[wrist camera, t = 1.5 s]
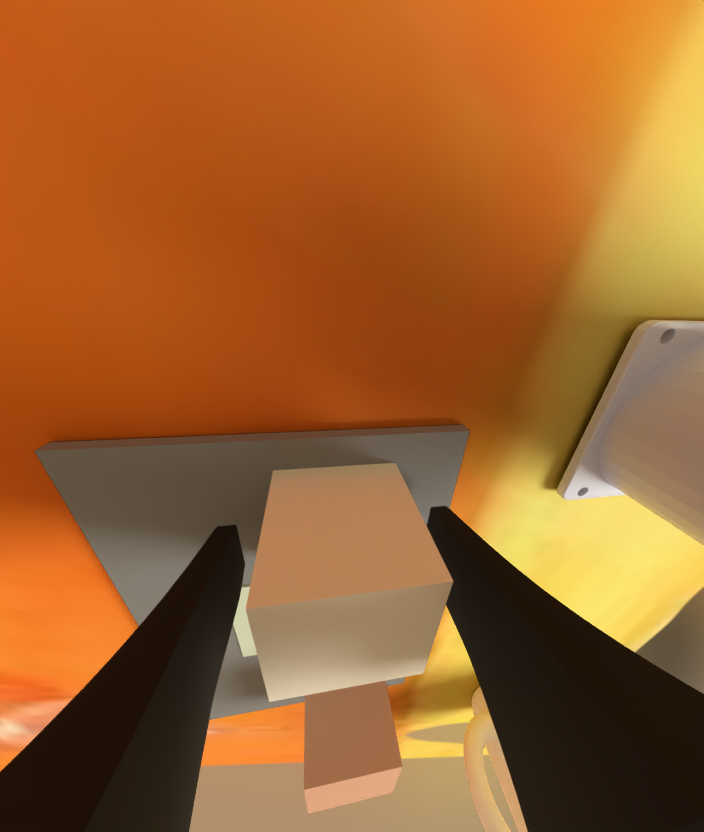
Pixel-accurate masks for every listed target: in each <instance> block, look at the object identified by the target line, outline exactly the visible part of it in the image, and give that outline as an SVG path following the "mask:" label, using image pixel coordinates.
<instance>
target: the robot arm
mask: <svg viewBox="0 0 704 832" xmlns="http://www.w3.org/2000/svg"><path fill="white" fill-rule="evenodd" d="M557 493H558V494H559V495H560V496H561V497H562V498H563V499H565V500H574V499H585V498H595V497H606V496H617V495H628V496H629V497H631V498H632V499H634V500H635V501H637V502H638V503H640V504H641V505H643V506H644V507H646V508H647V509H649V510H650V511H652V512H653V513H655V514H657V515H658V516H660V517H661V518H663V519H664V520H666V521H667V522H669V523H670V524H672V525H673V526H675V527H676V528H678V529H679V530H681V531H682V532H684V533H685V534H687V535H689V536H690V537H692V538H693V539H695V540H696V541H698V542H699V543H701V544H702V545H704V321H684V320H648V321H645V322H644V323H642V324H640V325H639V326H638V327H637V328H636V329H635V331H634V332H633V334H632V336H631V338H630V340H629V342H628V344H627V346H626V348H625V350H624V352H623V354H622V356H621V358H620V360H619V362H618V364H617V366H616V368H615V371H614V373H613V375H612V377H611V379H610V381H609V383H608V385H607V387H606V389H605V391H604V393H603V395H602V397H601V399H600V401H599V403H598V406H597V408H596V410H595V412H594V414H593V416H592V418H591V420H590V422H589V424H588V426H587V428H586V430H585V432H584V434H583V436H582V438H581V441H580V443H579V445H578V447H577V449H576V451H575V453H574V455H573V457H572V459H571V461H570V463H569V465H568V467H567V469H566V471H565V473H564V475H563V478H562V480H561V482H560V484H559V486H558V488H557ZM427 528H428V530H429V532H430V534H431V537H432V539H433V541H434V543H435V545H436V547H437V549H438V551H439V553H440V555H441V557H442V559H443V561H444V563H445V565H446V567H447V569H448V571H449V573H450V575H451V577H452V580H453V584H452V587H451V590H450V593H449V596H448V599H447V602H446V605H447V608H448V610H449V612H450V614H451V616H452V619H453V621H454V623H455V625H456V627H457V630H458V632H459V634H460V636H461V639H462V641H463V643H464V645H465V648H466V650H467V653H468V655H469V657H470V660H471V663H472V665H473V668H474V671H475V674H476V676H477V679H478V682H479V685H480V687H481V690H482V693H483V696H484V699H485V701H486V704H487V707H488V710H489V713H490V716H491V719H492V722H493V725H494V728H495V730H496V733H497V736H498V739H499V742H500V745H501V748H502V751H503V755H504V758H505V761H506V764H507V767H508V770H509V773H510V776H511V779H512V782H513V785H514V788H515V792H516V795H517V798H518V801H519V805H520V808H521V811H522V814H523V818H524V821H525V824H526V828H527V831H528V832H704V694H703V693H701V692H699V691H697V690H695V689H694V688H692V687H691V686H689V685H687V684H685V683H684V682H682V681H680V680H679V679H677V678H675V677H674V676H672V675H670V674H669V673H667V672H665V671H664V670H662V669H660V668H659V667H657V666H656V665H654V664H652V663H651V662H649V661H647V660H646V659H644V658H642V657H641V656H639V655H638V654H636V653H635V652H633V651H631V650H630V649H628V648H627V647H625V646H624V645H622V644H620V643H619V642H617V641H616V640H614V639H613V638H611V637H610V636H608V635H607V634H605V633H604V632H602V631H601V630H599V629H598V628H596V627H595V626H593V625H592V624H590V623H589V622H587V621H586V620H584V619H583V618H582V617H580V616H579V615H577V614H576V613H574V612H573V611H572V610H570V609H569V608H568V607H566V606H565V605H563V604H562V603H561V602H559V601H558V600H557V599H555V598H554V597H552V596H551V595H550V594H548V593H547V592H546V591H544V590H543V589H542V588H541V587H539V586H538V585H537V584H535V583H534V582H533V581H532V580H530V579H529V578H528V577H527V576H525V575H524V574H523V573H522V572H520V571H519V570H518V569H517V568H515V567H514V566H513V565H512V564H511V563H509V562H508V561H507V560H506V559H505V558H504V557H502V556H501V555H500V554H499V553H498V552H497V551H495V550H494V549H493V548H492V547H491V546H490V545H489V544H487V543H486V542H485V541H484V540H483V539H482V538H481V537H480V536H479V535H477V534H476V533H475V532H474V531H473V530H472V529H471V528H470V527H469V526H468V525H466V524H465V523H464V522H463V521H462V520H461V519H460V518H459V517H458V516H457V515H456V514H455V513H453V512H452V511H451V510H450V509H449V508H448V507H447V506H438V507H431V509H430V513H429V518H428V522H427ZM244 569H245V561H244V556H243V552H242V548H241V543H240V539H239V534H238V530H237V525H227V526H217V527H216V528H215V529H214V530H213V532H212V533H211V535H210V536H209V537H208V539H207V540H206V542H205V543H204V544H203V546H202V547H201V549H200V550H199V551H198V553H197V554H196V555H195V557H194V558H193V559H192V561H191V562H190V563H189V565H188V566H187V567H186V569H185V570H184V571H183V573H182V574H181V575H180V576H179V578H178V579H177V580H176V582H175V583H174V584H173V585H172V587H171V588H170V589H169V590H168V592H167V593H166V594H165V596H164V597H163V598H162V599H161V601H160V602H159V603H158V604H157V605H156V607H155V608H154V609H153V610H152V611H151V612H150V614H149V615H148V616H147V617H146V618H145V620H144V621H143V622H142V623H141V624H140V626H139V627H138V628H137V629H136V630H135V632H134V633H133V634H132V635H131V636H130V637H129V639H128V640H127V641H126V642H125V643H124V644H123V645H122V646H121V648H120V649H119V650H118V651H117V652H116V653H115V654H114V655H113V657H112V658H111V659H110V660H109V661H108V662H107V663H106V664H105V665H104V666H103V667H102V669H101V670H100V671H99V672H98V673H97V674H96V675H95V676H94V677H93V678H92V679H91V680H90V682H89V683H88V684H87V685H86V686H85V687H84V688H83V689H82V690H81V691H80V692H79V693H78V694H77V695H76V696H75V697H74V698H73V699H72V700H71V701H70V702H69V703H68V704H67V706H66V707H65V708H64V709H63V710H62V711H61V712H60V713H59V714H58V715H57V716H56V717H55V718H54V719H53V720H52V721H51V722H50V723H49V724H48V725H47V726H46V727H45V728H44V729H43V730H42V731H41V732H40V733H39V734H38V735H37V736H36V737H35V738H34V739H33V740H32V741H31V742H30V743H29V744H28V745H27V746H26V747H25V748H24V749H23V750H22V751H21V752H20V753H19V754H18V755H17V756H16V757H15V758H14V759H13V760H12V761H11V762H10V763H9V764H8V765H7V766H6V767H5V768H4V769H3V770H2V771H1V772H0V832H189V827H190V822H191V816H192V811H193V805H194V799H195V794H196V788H197V782H198V777H199V771H200V766H201V760H202V755H203V750H204V744H205V739H206V734H207V729H208V723H209V718H210V713H211V708H212V703H213V699H214V695H215V690H216V686H217V682H218V678H219V675H220V671H221V667H222V663H223V660H224V656H225V652H226V648H227V645H228V641H229V637H230V633H231V630H232V626H233V622H234V618H235V614H236V611H237V607H238V603H239V599H240V594H241V588H242V582H243V575H244Z"/></svg>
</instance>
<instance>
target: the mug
mask: <svg viewBox="0 0 704 832" xmlns="http://www.w3.org/2000/svg"><path fill="white" fill-rule="evenodd" d="M472 709H473V713H474V717H473V718H472V719H471V720H470V722H469V724H468V726H467V729H466V731H465V735H464V762H465V768H466V774H467V779H468V783H469V787H470V790H471V794H472V798H473V801H474V803H475V806H476V809H477V812H478V815H479V817H480V819H481V822H482V824H483V827H484V829H485V831H486V832H511V831H510V830H509V828H508V826H507V825H506V823H505V821H504V819H503V817H502V815H501V813H500V811H499V809H498V807H497V805H496V803H495V800H494V798H493V795H492V793H491V790H490V787H489V784H488V781H487V777H486V773H485V769H484V763H483V748H484V745H486V748H487V751H488V753H489V756H490V758H491V761H492V764H493V766H494V768H495V771H496V774H497V777H498V779H499V782H500V784H501V787H502V790H503V792H504V794H505V797H506V800H507V803H508V805H509V808H510V810H511V813H512V816H513V818H514V821H515V823H516V826H517V829H518V831H519V832H528V831H527V828H526V824H525V821H524V818H523V814H522V811H521V808H520V805H519V801H518V798H517V795H516V792H515V788H514V785H513V782H512V779H511V776H510V773H509V770H508V767H507V764H506V761H505V758H504V755H503V751H502V748H501V745H500V742H499V739H498V736H497V733H496V730H495V728H494V725H493V722H492V719H491V716H490V713H489V710H488V707H487V704H486V701H485V699H484V696H483V693H482V690H481V687H480V686H479V687H478V688H477V689H476V691H475V692H474V694H473V697H472Z"/></svg>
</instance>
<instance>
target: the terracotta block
mask: <svg viewBox="0 0 704 832" xmlns="http://www.w3.org/2000/svg"><path fill="white" fill-rule="evenodd" d="M401 769H402V762H401V757H400V752H399V747H398V742H397V736H396V731H395V726H394V721H393V716H392V711H391V705H390V700H389V695H388V690H387V685H386V681H380V682H375V683H369V684H364V685H359V686H353V687H348V688H343V689H337V690H332V691H326V692H321V693H316V694H310V695H305V751H304V792H305V798H306V804H307V808H308V813H312V812H316V811H320V810H324V809H328V808H332V807H336V806H340V805H344V804H348V803H352V802H356V801H360V800H364V799H368V798H372V797H376V796H380V795H384V794H388V793H392V792H393V790H394V787H395V785H396V782H397V779H398V777H399V774H400V771H401Z"/></svg>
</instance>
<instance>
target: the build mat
mask: <svg viewBox="0 0 704 832" xmlns="http://www.w3.org/2000/svg"><path fill="white" fill-rule="evenodd" d="M469 433H470V431H469V430H468V429H467V428H466V427H465V426H464V425H443V426H420V427H396V428H373V429H349V430H325V431H302V432H278V433H255V434H231V435H207V436H184V437H160V438H137V439H113V440H89V441H66V442H49V443H47V444H45V445H44V446H42V447H40V448H39V449H37V450H35V451H34V452H35V453H36V455H37V457H38V458H39V460H40V462H41V463H42V465H43V467H44V468H45V470H46V472H47V473H48V475H49V477H50V478H51V480H52V482H53V483H54V485H55V487H56V488H57V490H58V492H59V493H60V495H61V497H62V498H63V500H64V502H65V503H66V505H67V507H68V508H69V510H70V512H71V513H72V515H73V517H74V519H75V520H76V522H77V524H78V525H79V527H80V529H81V530H82V532H83V534H84V535H85V537H86V539H87V540H88V542H89V544H90V545H91V547H92V549H93V550H94V552H95V554H96V555H97V557H98V559H99V560H100V562H101V564H102V565H103V567H104V569H105V570H106V572H107V574H108V575H109V577H110V579H111V580H112V582H113V584H114V585H115V587H116V589H117V590H118V592H119V594H120V595H121V597H122V599H123V600H124V602H125V604H126V605H127V607H128V609H129V610H130V612H131V614H132V615H133V617H134V619H135V620H136V622H137V624H138V626H140V624H141V623H142V622H143V621H144V620H145V618H146V617H147V616H148V615H149V614H150V612H151V611H152V610H153V609H154V608H155V607H156V605H157V604H158V603H159V602H160V601H161V599H162V598H163V597H164V596H165V594H166V593H167V592H168V590H169V589H170V588H171V587H172V585H173V584H174V583H175V582H176V580H177V579H178V578H179V576H180V575H181V574H182V573H183V571H184V570H185V569H186V567H187V566H188V565H189V563H190V562H191V561H192V559H193V558H194V557H195V555H196V554H197V553H198V551H199V550H200V549H201V547H202V546H203V544H204V543H205V542H206V540H207V539H208V537H209V536H210V535H211V533H212V532H213V530H214V529H215V528H216V527H217V526H227V525H237V530H238V534H239V539H240V543H241V548H242V552H243V556H244V561H245V569H244V575H243V582H242V588H241V594H240V599H239V603H238V607H237V611H236V614H235V618H234V622H233V626H232V630H231V633H230V637H229V641H228V645H227V648H226V652H225V656H224V660H223V663H222V667H221V671H220V675H219V678H218V682H217V686H216V690H215V695H214V699H213V703H212V708H211V713H210V718H209V720H211V719H216V718H221V717H227V716H232V715H237V714H243V713H248V712H253V711H258V710H264V709H269V708H274V707H280V706H285V705H290V704H296V703H301V702H305V696H299V697H294V698H289V699H283V700H278V701H272V702H269V699H268V695H267V691H266V687H265V683H264V679H263V676H262V672H261V668H260V664H259V660H258V656H257V652H256V648H255V644H254V640H253V636H252V633H251V629H250V625H249V621H248V617H247V613H246V604H247V599H248V594H249V589H250V584H251V579H252V574H253V569H254V564H255V559H256V554H257V549H258V544H259V539H260V534H261V529H262V524H263V519H264V514H265V509H266V504H267V499H268V494H269V489H270V484H271V479H272V474H273V470H287V469H303V468H319V467H335V466H351V465H367V464H384V463H396V465H397V467H398V469H399V471H400V473H401V475H402V477H403V479H404V481H405V483H406V485H407V487H408V489H409V492H410V494H411V496H412V498H413V500H414V502H415V504H416V506H417V508H418V510H419V512H420V514H421V516H422V518H423V520H424V522H425V524H426V526H427V522H428V518H429V513H430V509H431V507H438V506H447V507H448V508H450V505H451V501H452V497H453V493H454V489H455V486H456V482H457V478H458V474H459V470H460V467H461V463H462V459H463V455H464V452H465V448H466V444H467V440H468V436H469ZM404 679H405V677H402V678H396V679H391V680H386V685H387V686H391V685H396V684H401V683H403V682H404Z"/></svg>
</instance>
